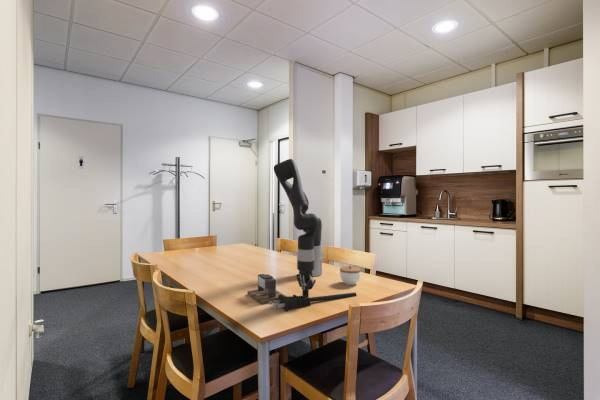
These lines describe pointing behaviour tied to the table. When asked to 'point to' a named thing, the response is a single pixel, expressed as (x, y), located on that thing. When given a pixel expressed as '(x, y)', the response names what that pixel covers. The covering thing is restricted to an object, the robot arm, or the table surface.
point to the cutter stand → (263, 296)
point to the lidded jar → (350, 274)
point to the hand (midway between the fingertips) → (305, 297)
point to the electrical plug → (304, 300)
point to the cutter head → (264, 281)
